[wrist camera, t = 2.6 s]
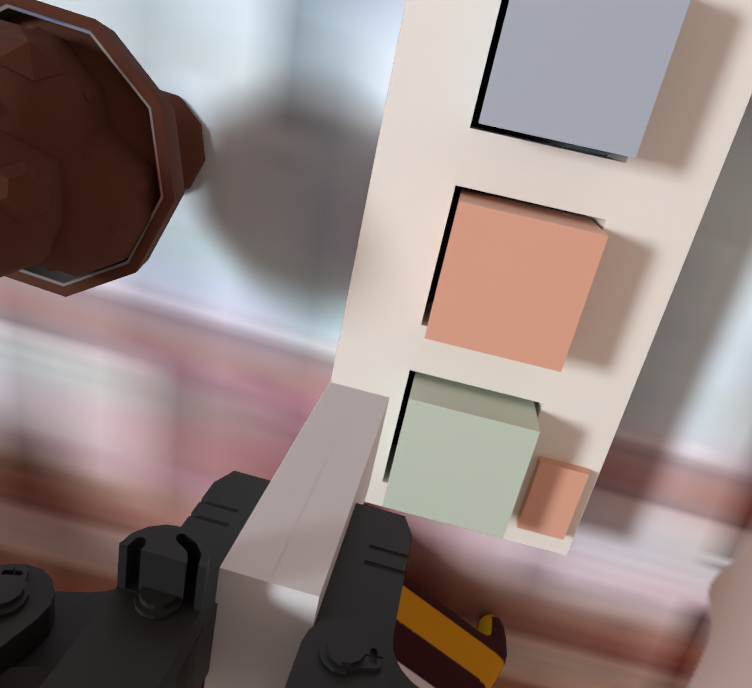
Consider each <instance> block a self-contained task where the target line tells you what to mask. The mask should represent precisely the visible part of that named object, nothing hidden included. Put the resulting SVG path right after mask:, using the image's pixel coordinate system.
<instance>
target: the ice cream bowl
mask: <svg viewBox="0 0 752 688" xmlns="http://www.w3.org/2000/svg"><path fill="white" fill-rule="evenodd" d="M204 161H205V155H204V146H203V138H202V129H201V124H200V123H199V122H198V120H197V119H196V118H195V116H194V115H193V114H192V113H191V111H190V110H189V109H188V107H187V106H186V105H185V104H184V102H183V101H182V100H181V98H180V97H179V96H177V95H174V94H171V93H168V92H165V91H162V90H159V88H158V87H157V86H156V84H155V83H154V82H153V81H152V79H151V78H150V77H149V75H148V74H147V73H146V72H145V70H144V69H143V68H142V66H141V65H140V64H139V63H138V61H137V60H136V59H135V58H134V56H133V55H132V54H131V52H130V51H129V50H128V49H127V47H126V46H125V45H124V43H123V42H122V41H121V40H120V38H119V37H118V36H117V34H116V33H115V32H114V31H113V30H111V29H109V28H108V27H106V26H105V25H103V24H102V23H100V22H99V21H97V20H96V19H93V18H90V17H87V16H84V15H80V14H77V13H74V12H71V11H68V10H65V9H62V8H59V7H56V6H52V5H49V4H46V3H43V2H40V1H37V0H0V277H3V276H6V277H9V278H12V279H15V280H18V281H21V282H24V283H26V284H29V285H32V286H35V287H38V288H41V289H44V290H47V291H50V292H53V293H56V294H59V295H62V296H65V297H67V296H69V295H72V294H75V293H78V292H81V291H84V290H87V289H90V288H93V287H95V286H98V285H101V284H104V283H107V282H110V281H113V280H116V279H119V278H121V277H124V276H127V275H130V274H133V273H136V272H137V271H138V270H139V269H140V268H141V267H142V265H143V264H144V263H145V262H146V261H147V260H148V259H149V258H150V256H151V254H152V252H153V250H154V248H155V246H156V245H157V243H158V241H159V239H160V237H161V235H162V233H163V232H164V230H165V228H166V226H167V224H168V222H169V221H170V219H171V217H172V215H173V213H174V211H175V209H176V208H177V206H178V204H179V202H180V200H181V198H182V197H183V195H184V190H185V189H188V188H190V187H191V185H192V183H193V181H194V179H195V178H196V176H197V174H198V172H199V170H200V168H201V167H202V165H203V163H204Z"/></svg>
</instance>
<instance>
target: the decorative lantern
mask: <svg viewBox="0 0 752 688" xmlns="http://www.w3.org/2000/svg"><path fill="white" fill-rule="evenodd" d="M393 649H394V653H395V657H396V660H397V662H398V664H399V666H400V668H401V669H402V671H403V672H404V673H405V675H406V676H407V677H408V678H409V679H410V680H411V681H412V682H413V683H414V684H415V685H417V686H418V687H419V688H491V687H492V685H493V684H494V682H495V681H496V679H497V678H498V676H499V674H500V672H501V670H502V668H503V666H504V664H505V661H506V656H507V650H506V637H505V632H504V627H503V625H502V623H501V621H500V619H499V618H498V617H497V616H495V615H492V614H487V615H485V616H483V617H482V618H481V619H480V621H479V622H478V624H477V628H476V629H475V628H474V627H472V626H471V625H470V624H468V623H467V622H465V621H464V620H463V619H461V618H460V617H459V616H457V615H456V614H455V613H453V612H452V611H450V610H449V609H448V608H446V607H445V606H444V605H442V604H441V603H439V602H438V601H437V600H435V599H434V598H433V597H431V596H430V595H429V594H427V593H426V592H424V591H423V590H422V589H420V588H419V587H418V586H416V585H415V584H414V583H412V582H411V581H409V580H408V579H407V578H405V577H404V581H403V587H402V592H401V597H400V603H399V608H398V613H397V619H396V624H395V629H394V635H393ZM204 683H205V680H204V682H203V684H202V686H201V688H204Z"/></svg>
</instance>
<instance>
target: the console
mask: <svg viewBox="0 0 752 688" xmlns="http://www.w3.org/2000/svg"><path fill="white" fill-rule="evenodd" d="M501 1H502V0H406V2H405V7H404V12H403V17H402V22H401V27H400V32H399V37H398V42H397V47H396V52H395V57H394V62H393V68H392V73H391V78H390V83H389V88H388V93H387V98H386V103H385V108H384V113H383V118H382V123H381V129H380V134H379V139H378V144H377V149H376V154H375V159H374V164H373V169H372V174H371V179H370V184H369V190H368V195H367V200H366V205H365V210H364V215H363V220H362V225H361V230H360V235H359V240H358V245H357V251H356V256H355V261H354V266H353V271H352V276H351V281H350V286H349V291H348V296H347V301H346V306H345V312H344V317H343V322H342V327H341V332H340V337H339V342H338V347H337V352H336V357H335V362H334V367H333V373H332V378H331V382H332V383H336V384H340V385H343V386H347V387H351V388H355V389H359V390H363V391H366V392H370V393H374V394H378V395H382V396H386V397H390V398H389V402H388V407H387V411H386V415H385V420H384V424H383V428H382V432H381V437H380V441H379V445H378V450H377V454H376V458H375V462H374V467H373V471H372V475H371V480H370V484H369V488H368V492H367V495H366V498H365V501H364V502H368V503H371V504H375V505H379V506H382V505H383V501H384V497H385V492H386V488H387V484H388V480H389V476H390V471H391V467H392V463H393V459H394V455H395V451H396V447H397V445H393V444H392V441H393V437H394V433H395V429H396V425H397V420H398V416H399V412H400V408H401V404H402V400H403V396H404V392H405V388H406V384H407V380H408V376H409V372H410V370H412V371H416V372H420V373H424V374H428V375H432V376H436V377H440V378H444V379H448V380H452V381H456V382H460V383H464V384H468V385H472V386H476V387H480V388H484V389H488V390H492V391H496V392H500V393H504V394H508V395H511V396H515V397H519V398H523V399H527V400H531V401H534V404H535V409H536V414H537V419H538V424H539V429H540V434H539V437H538V440H537V442H536V445H535V448H534V451H533V454H532V457H531V460H530V463H529V465H528V468H527V471H526V474H525V477H524V480H523V483H522V485H521V488H520V491H519V494H518V497H517V500H516V503H515V506H514V508H513V511H512V514H511V517H510V520H509V523H508V526H507V529H506V531H505V534H504V537H503V539H507V540H510V541H514V542H518V543H522V544H525V545H529V546H533V547H537V548H540V549H544V550H548V551H552V552H555V553H559V554H563V555H567V553H568V550H569V548H570V545H571V543H572V540H573V538H574V535H575V533H576V530H577V528H578V525H579V523H580V520H581V518H582V515H583V513H584V510H585V508H586V505H587V503H588V500H589V498H590V496H591V493H592V491H593V488H594V486H595V483H596V481H597V478H598V476H599V473H600V471H601V468H602V466H603V463H604V461H605V458H606V456H607V453H608V451H609V448H610V446H611V443H612V441H613V438H614V436H615V433H616V431H617V428H618V426H619V423H620V421H621V418H622V416H623V413H624V411H625V408H626V406H627V403H628V401H629V398H630V396H631V393H632V391H633V388H634V386H635V383H636V381H637V378H638V376H639V373H640V371H641V368H642V366H643V363H644V361H645V358H646V356H647V353H648V351H649V348H650V346H651V343H652V341H653V339H654V336H655V334H656V331H657V329H658V326H659V324H660V321H661V319H662V316H663V314H664V311H665V309H666V306H667V304H668V301H669V299H670V296H671V294H672V291H673V289H674V286H675V284H676V281H677V279H678V276H679V274H680V271H681V269H682V266H683V264H684V261H685V259H686V256H687V254H688V251H689V249H690V246H691V244H692V241H693V239H694V236H695V234H696V231H697V229H698V226H699V224H700V221H701V219H702V216H703V214H704V211H705V209H706V206H707V204H708V201H709V199H710V196H711V194H712V191H713V189H714V186H715V184H716V182H717V179H718V177H719V174H720V172H721V169H722V167H723V164H724V162H725V159H726V157H727V154H728V152H729V149H730V147H731V144H732V142H733V139H734V137H735V134H736V132H737V129H738V127H739V124H740V122H741V119H742V117H743V114H744V112H745V109H746V107H747V104H748V102H749V99H750V97H751V94H752V0H691V1H690V4H689V7H688V9H687V12H686V15H685V18H684V21H683V24H682V27H681V30H680V32H679V35H678V38H677V41H676V44H675V47H674V50H673V53H672V55H671V58H670V61H669V64H668V67H667V70H666V73H665V75H664V78H663V81H662V84H661V87H660V90H659V93H658V96H657V98H656V101H655V104H654V107H653V110H652V113H651V116H650V118H649V121H648V124H647V127H646V130H645V133H644V136H643V139H642V141H641V144H640V147H639V150H638V153H637V156H636V158H632V157H628V156H623V155H619V154H614V153H610V152H609V153H608V156H603V155H599V154H594V153H590V152H585V151H581V150H576V149H572V148H568V147H563V146H559V145H554V144H550V143H545V142H541V141H536V140H532V139H527V138H523V137H518V136H514V135H509V134H505V133H500V132H496V131H491V130H487V129H482V128H478V127H473V126H471V122H472V118H473V114H474V110H475V106H476V102H477V98H478V94H479V90H480V86H481V82H482V78H483V74H484V70H485V66H486V61H487V57H488V53H489V49H490V45H491V41H492V37H493V33H494V29H495V25H496V21H497V17H498V13H499V9H500V5H501ZM456 185H457V186H461V187H465V188H470V189H474V190H478V191H483V192H487V193H492V194H496V195H500V196H505V197H509V198H513V199H518V200H522V201H526V202H531V203H535V204H539V205H544V206H548V207H552V208H557V209H561V210H565V211H570V212H574V213H579V214H583V215H587V217H588V218H590V219H591V220H592V221H593V222H594V223H595V224H596V225H597V226H599V227H600V228H601V229H602V230H603V231H604V232H605V233H606V234H607V235H608V239H607V242H606V245H605V247H604V250H603V253H602V256H601V259H600V262H599V265H598V268H597V270H596V273H595V276H594V279H593V282H592V285H591V288H590V291H589V293H588V296H587V299H586V302H585V305H584V308H583V311H582V313H581V316H580V319H579V322H578V325H577V328H576V331H575V334H574V336H573V339H572V342H571V345H570V348H569V351H568V354H567V356H566V359H565V362H564V365H563V368H562V371H561V372H559V371H555V370H551V369H546V368H542V367H538V366H534V365H530V364H526V363H522V362H518V361H514V360H510V359H506V358H502V357H498V356H494V355H490V354H486V353H482V352H478V351H474V350H470V349H466V348H461V347H457V346H453V345H449V344H445V343H441V342H437V341H433V340H429V339H425V334H426V330H427V325H428V321H429V317H430V312H431V308H432V304H433V302H429V301H427V299H428V295H429V291H430V287H431V283H432V279H433V275H434V271H435V267H436V263H437V259H438V255H439V251H440V247H441V243H442V239H443V235H444V231H445V227H446V223H447V219H448V215H449V211H450V207H451V203H452V199H453V195H454V191H455V187H456Z"/></svg>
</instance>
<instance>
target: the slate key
mask: <svg viewBox="0 0 752 688" xmlns="http://www.w3.org/2000/svg"><path fill="white" fill-rule="evenodd" d="M690 1H691V0H509V2H508V6H507V10H506V14H505V18H504V22H503V26H502V30H501V34H500V38H499V42H498V46H497V50H496V54H495V58H494V62H493V66H492V70H491V74H490V77H489V81H488V85H487V89H486V93H485V97H484V101H483V105H482V109H481V113H480V117H479V121H478V122H479V123H480V124H484V125H489V126H493V127H497V128H502V129H506V130H511V131H515V132H520V133H524V134H529V135H533V136H538V137H542V138H547V139H551V140H556V141H560V142H565V143H569V144H574V145H578V146H583V147H587V148H592V149H596V150H601V151H605V152H610V153H614V154H619V155H623V156H628V157H632V158H636V156H637V153H638V150H639V147H640V144H641V141H642V139H643V136H644V133H645V130H646V127H647V124H648V121H649V118H650V116H651V113H652V110H653V107H654V104H655V101H656V98H657V96H658V93H659V90H660V87H661V84H662V81H663V78H664V75H665V73H666V70H667V67H668V64H669V61H670V58H671V55H672V53H673V50H674V47H675V44H676V41H677V38H678V35H679V32H680V30H681V27H682V24H683V21H684V18H685V15H686V12H687V9H688V7H689V4H690Z"/></svg>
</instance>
